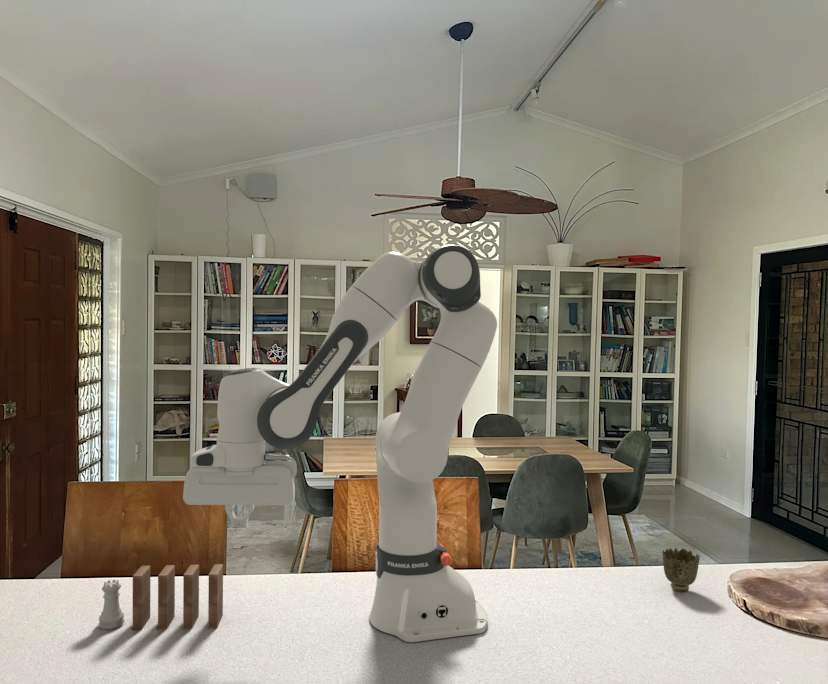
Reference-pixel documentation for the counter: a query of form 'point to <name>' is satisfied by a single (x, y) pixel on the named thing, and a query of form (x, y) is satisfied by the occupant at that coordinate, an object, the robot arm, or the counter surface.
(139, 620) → the domino
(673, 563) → the cup
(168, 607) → the domino
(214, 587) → the domino
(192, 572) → the domino
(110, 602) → the rook chess piece
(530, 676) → the counter surface
